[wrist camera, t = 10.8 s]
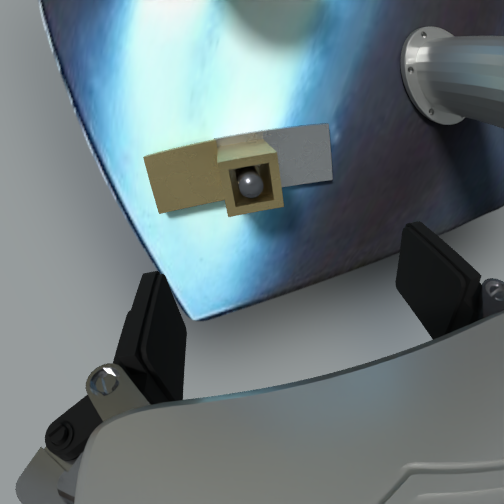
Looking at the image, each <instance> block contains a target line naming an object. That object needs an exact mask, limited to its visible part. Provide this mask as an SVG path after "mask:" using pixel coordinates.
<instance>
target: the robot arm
mask: <svg viewBox="0 0 504 504" xmlns="http://www.w3.org/2000/svg"><path fill="white" fill-rule="evenodd" d="M400 63H401V74H402V78H403V83H404V85H405V88H406V91H407V93H408V95H409V97H410V99H411V101H412V102H413V104H414V105H415V107H416V108H417V109H418V110H419V111H420V112H421V113H422V114H423V115H424V116H425V117H427V118H428V119H429V120H431V121H434V122H436V123H440V124H443V125H453V124H457V123H459V122H460V121H462V120H463V119H464V118H465V117H466V118H470V119H474V120H477V121H481V122H484V123H488V124H491V125H494V126H497V127H500V128H503V129H504V36H460V37H454V36H453V35H452V34H450V33H449V32H447V31H446V30H443V29H441V28H438V27H423V28H419V29H417V30H415V31H413V32H412V33H411V34H410V35H409V36H408V37H407V39H406V41H405V43H404V45H403V48H402V52H401V62H400ZM480 278H481V275H480V274H479V273H478V272H477V271H476V270H475V269H474V268H473V267H472V266H471V265H470V264H469V263H468V262H466V261H465V260H464V259H463V258H462V257H461V256H460V255H459V254H458V253H457V252H456V251H454V250H453V249H452V248H451V247H450V246H449V245H447V244H446V243H445V242H444V241H443V240H442V239H441V238H439V237H438V236H437V235H436V234H435V233H434V232H432V231H431V230H430V229H429V228H427V227H426V226H425V225H424V224H423V223H421V222H413V223H408V224H406V226H405V228H403V231H402V239H401V247H400V255H399V263H398V270H397V277H396V288H397V290H398V291H399V293H400V294H401V295H402V297H403V298H404V299H405V301H406V302H407V303H408V305H409V306H410V307H411V309H412V310H413V312H414V313H415V314H416V316H417V317H418V319H419V320H420V321H421V323H422V324H423V326H424V327H425V329H426V330H427V332H428V333H429V334H430V336H431V337H432V339H433V340H431V341H429V342H426V343H424V344H421V345H418V346H416V347H413V348H410V349H407V350H405V351H402V352H399V353H396V354H393V355H390V356H387V357H384V358H381V359H378V360H375V361H372V362H369V363H365V364H362V365H358V366H355V367H352V368H348V369H345V370H341V371H337V372H334V373H330V374H326V375H322V376H318V377H314V378H310V379H305V380H301V381H297V382H292V383H288V384H283V385H278V386H273V387H268V388H262V389H256V390H250V391H244V392H238V393H232V394H225V395H218V396H211V397H204V398H195V399H187V400H183V383H184V382H183V381H184V366H185V351H186V336H187V332H186V327H185V324H184V321H183V319H182V317H181V314H180V312H179V309H178V307H177V304H176V302H175V299H174V297H173V294H172V292H171V289H170V287H169V284H168V282H167V279H166V277H165V275H164V274H160V273H159V272H158V271H155V272H149V273H144V274H143V275H142V278H141V281H140V284H139V287H138V290H137V293H136V296H135V299H134V302H133V305H132V309H131V310H130V311H129V312H128V314H127V317H126V320H125V323H124V326H123V329H122V333H121V337H120V340H119V343H118V347H117V350H116V354H115V357H114V361H113V364H110V363H108V364H104V365H101V366H99V367H97V368H96V369H95V370H94V371H92V372H91V374H90V375H89V377H88V379H87V382H86V391H87V394H88V395H87V396H85V397H84V398H83V399H81V400H80V401H79V402H78V403H76V404H75V405H74V406H73V407H71V408H70V409H69V410H68V411H66V412H65V413H64V414H62V415H61V416H60V417H59V418H57V419H56V420H55V421H54V422H52V424H51V425H50V426H49V427H48V429H47V431H46V435H45V443H46V447H45V449H43V448H42V447H40V449H39V450H38V452H37V453H36V455H35V456H34V457H33V459H32V460H31V462H30V463H29V464H28V466H27V467H26V468H25V470H24V471H23V473H22V474H21V476H20V477H19V479H18V481H17V483H16V494H17V497H18V498H19V500H20V501H21V503H22V504H504V282H503V281H501V280H498V279H493V278H492V279H487V280H485V281H484V282H483V284H482V285H481V284H480V282H479V281H480Z"/></svg>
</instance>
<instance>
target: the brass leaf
mask: <svg viewBox="0 0 504 504" xmlns="http://www.w3.org/2000/svg"><path fill="white" fill-rule="evenodd" d="M143 158H144V162H145V166H146V169H147V173H148V177H149V180H150V184H151V188H152V191H153V195H154V198H155V201H156V205H157V208H158V212H159V214H161V213H166V212H170V211H174V210H179V209H183V208H188V207H193V206H197V205H202V204H207V203H212V202H217V201H222V200H225V203H226V208H227V213H228V217H231V216H236V215H241V214H247V213H252V212H257V211H263V210H268V209H274V208H279V207H284V203H283V195H282V187H281V179H280V171H279V163H278V156H277V152H276V151H275V150H274V149H273V148H272V147H271V146H270V145H269V144H268V143H267V142H266V141H265V140H264V139H259V140H253V141H247V142H241V143H235V144H230V145H225V146H219V147H217V143H216V139H213V140H208V141H204V142H199V143H194V144H190V145H185V146H181V147H177V148H173V149H169V150H165V151H161V152H157V153H153V154H150V155H146V156H144V157H143ZM258 164H259V165H260V171H261V176H260V178H261V180H262V182H263V190H262V192H261V194H260V195H258V196H257V197H254V198H248V197H245V196H244V195H242V193H241V192H240V189H239V185H238V181H237V180H236V181H231V178H230V172H229V170H230V169H236V168H241V167H247V166H252V165H258Z"/></svg>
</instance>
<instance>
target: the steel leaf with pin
mask: <svg viewBox="0 0 504 504" xmlns="http://www.w3.org/2000/svg"><path fill="white" fill-rule="evenodd" d="M214 139H216V143H217V147H219V146H225V145H230V144H235V143H241V142H247V141H253V140H259V139H264V140H265V141H266V142H267V143H268V144H269V145H270V146H271V147H272V148H273V149H274V150H275V151H276V152H277V156H278V163H279V171H280V179H281V187H287V186H293V185H300V184H307V183H313V182H320V181H327V180H333V179H332V162H331V147H330V135H329V124H327V123H320V124H310V125H300V126H291V127H283V128H275V129H268V130H261V131H254V132H248V133H242V134H236V135H230V136H225V137H219V138H214ZM229 172H230V178H231V181H236V180H237V181H238V185H239V189H240V192H241V193H242V195H244V196H245V197H248V198H254V197H257V196H258V195H260V194H261V192H262V190H263V182H262V180H261V178H260V176H261V171H260V165H259V164H258V165H252V166H247V167H241V168H236V169H230V170H229Z"/></svg>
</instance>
